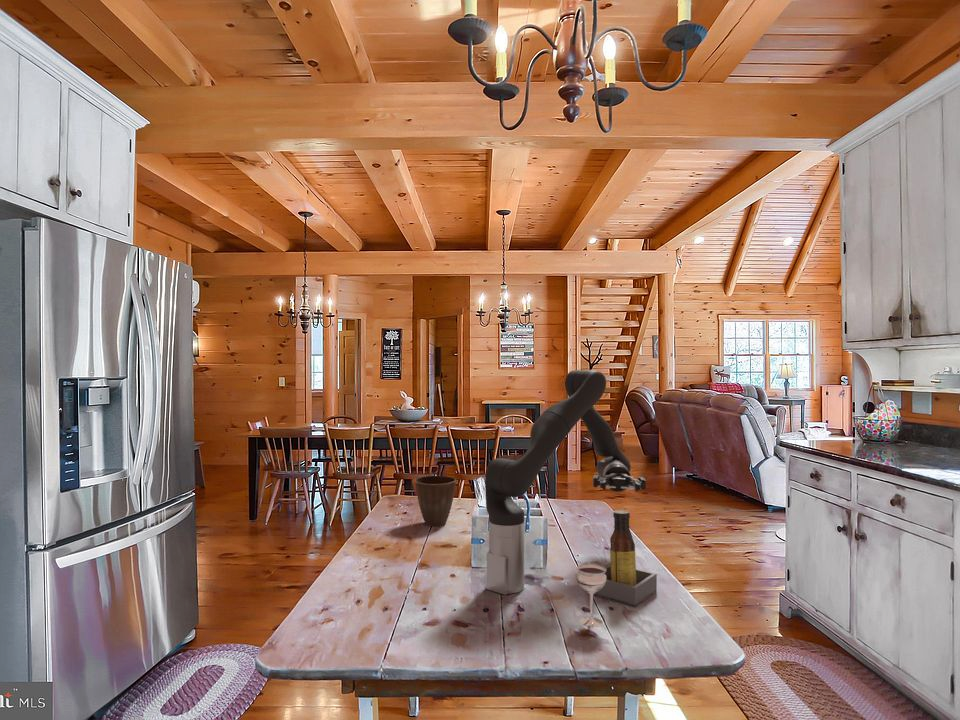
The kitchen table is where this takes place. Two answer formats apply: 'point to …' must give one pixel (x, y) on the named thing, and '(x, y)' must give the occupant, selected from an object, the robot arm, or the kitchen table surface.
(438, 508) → the plant pot
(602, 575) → the wineglass
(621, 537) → the sauce bottle
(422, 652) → the kitchen table surface
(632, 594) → the grey shallow tray
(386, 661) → the kitchen table surface
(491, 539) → the robot arm
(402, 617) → the kitchen table surface
